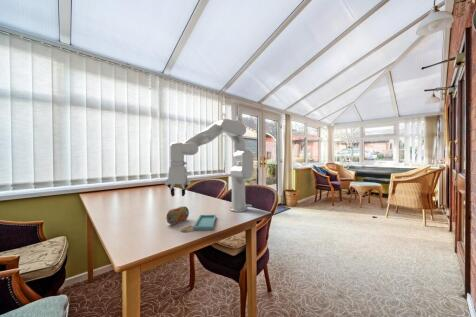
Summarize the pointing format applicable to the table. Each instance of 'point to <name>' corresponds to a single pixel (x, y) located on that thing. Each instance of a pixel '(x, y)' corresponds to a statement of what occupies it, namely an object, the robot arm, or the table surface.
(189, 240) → the table surface
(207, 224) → the tray
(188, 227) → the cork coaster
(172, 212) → the tin
